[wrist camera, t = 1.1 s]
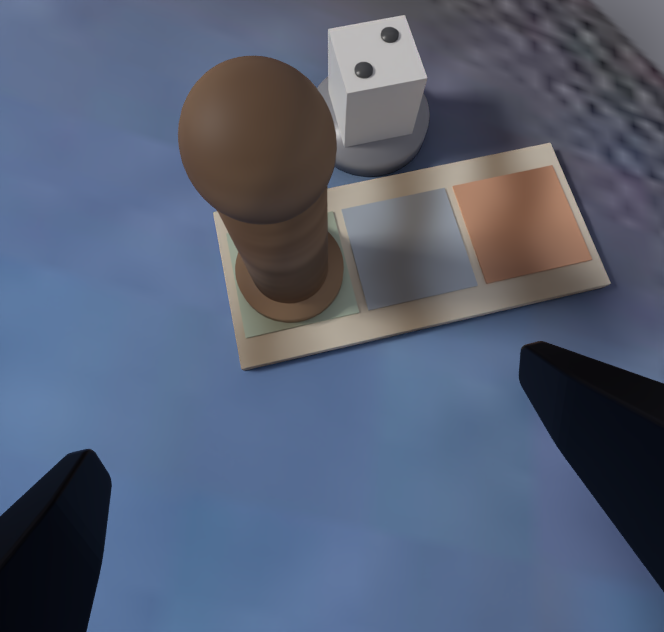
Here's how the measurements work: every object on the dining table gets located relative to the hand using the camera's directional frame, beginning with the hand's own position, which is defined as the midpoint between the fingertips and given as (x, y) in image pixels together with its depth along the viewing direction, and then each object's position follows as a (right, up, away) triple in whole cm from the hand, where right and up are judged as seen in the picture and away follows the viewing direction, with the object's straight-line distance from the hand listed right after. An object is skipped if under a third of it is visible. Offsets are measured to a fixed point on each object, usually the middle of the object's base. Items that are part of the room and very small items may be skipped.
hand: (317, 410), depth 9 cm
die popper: (+3, +14, +17) cm, 22 cm away
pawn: (-2, +4, +14) cm, 15 cm away
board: (+4, +6, +15) cm, 17 cm away
